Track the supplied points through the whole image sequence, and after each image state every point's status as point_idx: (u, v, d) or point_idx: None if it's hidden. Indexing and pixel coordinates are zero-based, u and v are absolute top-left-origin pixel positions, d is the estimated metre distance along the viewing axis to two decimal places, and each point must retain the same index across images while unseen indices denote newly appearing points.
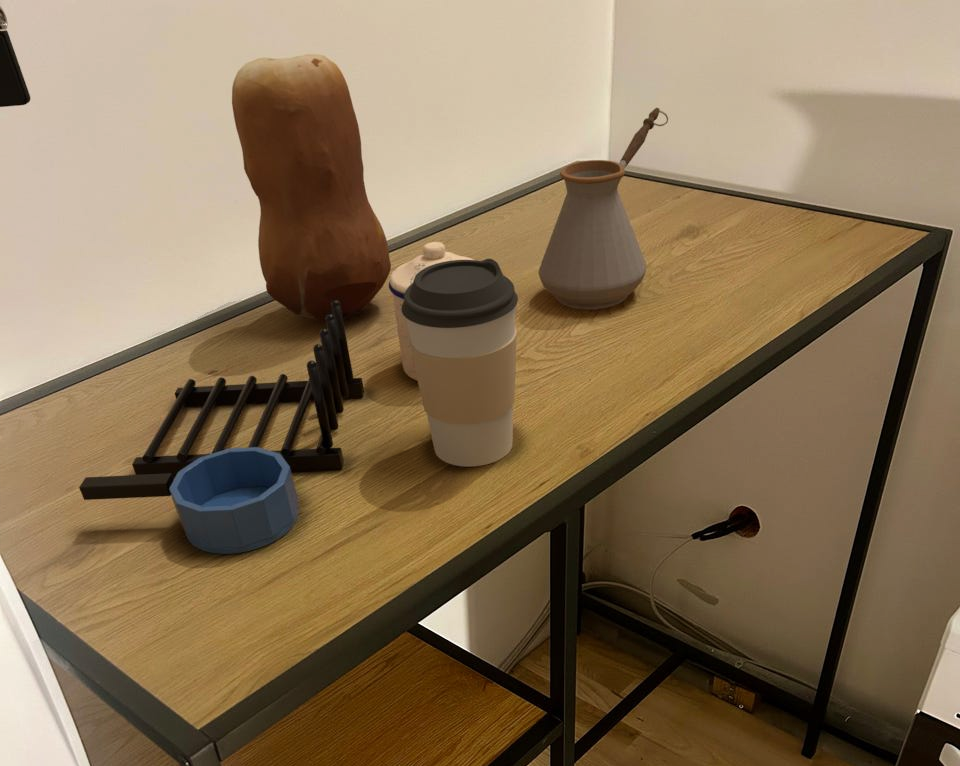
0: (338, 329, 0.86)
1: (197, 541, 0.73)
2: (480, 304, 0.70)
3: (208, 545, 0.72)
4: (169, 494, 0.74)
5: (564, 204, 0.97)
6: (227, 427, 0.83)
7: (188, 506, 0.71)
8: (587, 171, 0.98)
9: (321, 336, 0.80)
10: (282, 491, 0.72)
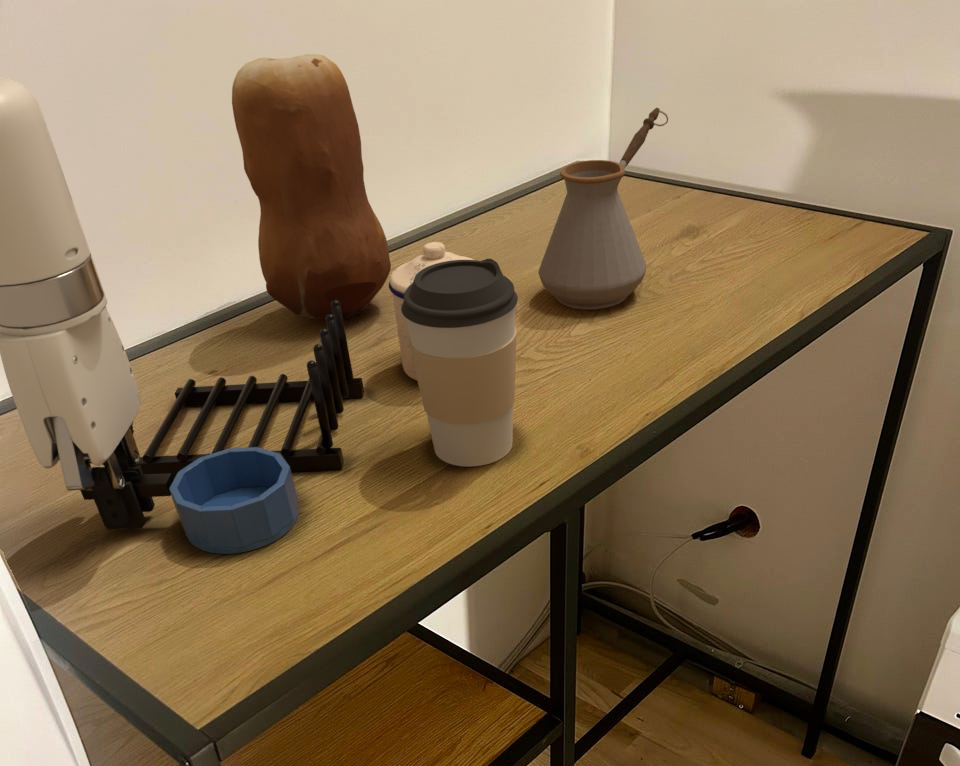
0: (338, 329, 0.86)
1: (197, 541, 0.73)
2: (480, 304, 0.70)
3: (208, 545, 0.72)
4: (169, 494, 0.74)
5: (564, 204, 0.97)
6: (227, 427, 0.83)
7: (188, 506, 0.71)
8: (587, 171, 0.98)
9: (321, 336, 0.80)
10: (282, 491, 0.72)
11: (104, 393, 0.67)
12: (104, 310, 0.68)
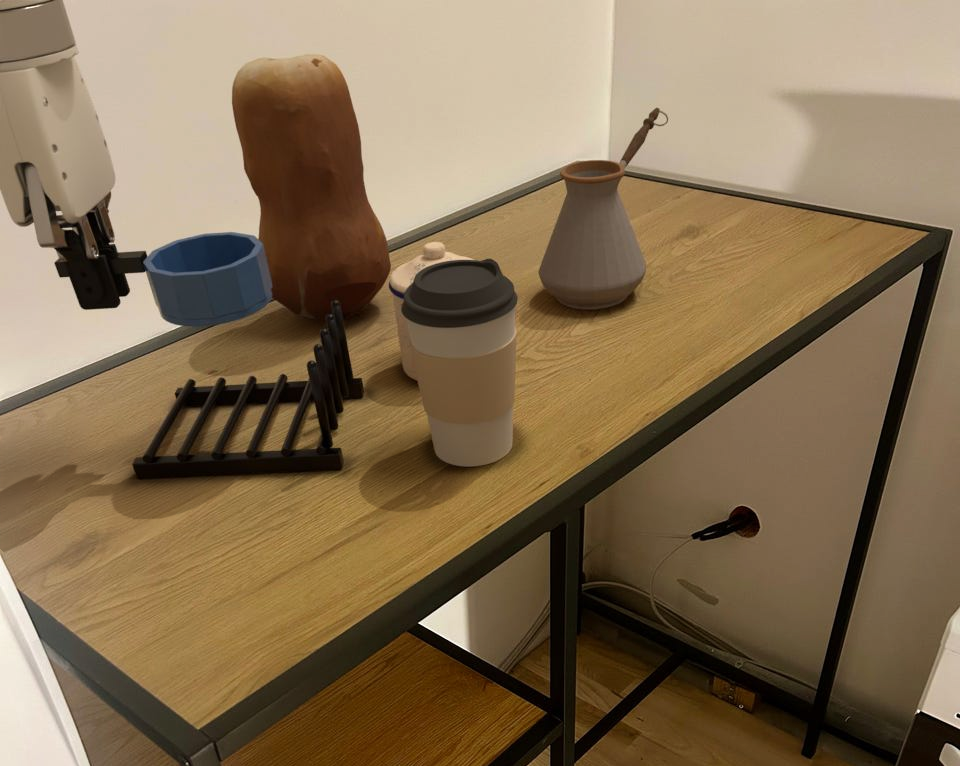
0: (338, 329, 0.86)
1: (170, 314, 0.73)
2: (480, 304, 0.70)
3: (181, 317, 0.73)
4: (143, 270, 0.74)
5: (564, 204, 0.97)
6: (227, 427, 0.83)
7: (160, 273, 0.71)
8: (587, 171, 0.98)
9: (321, 336, 0.80)
10: (255, 263, 0.73)
11: (76, 148, 0.68)
12: (77, 69, 0.69)
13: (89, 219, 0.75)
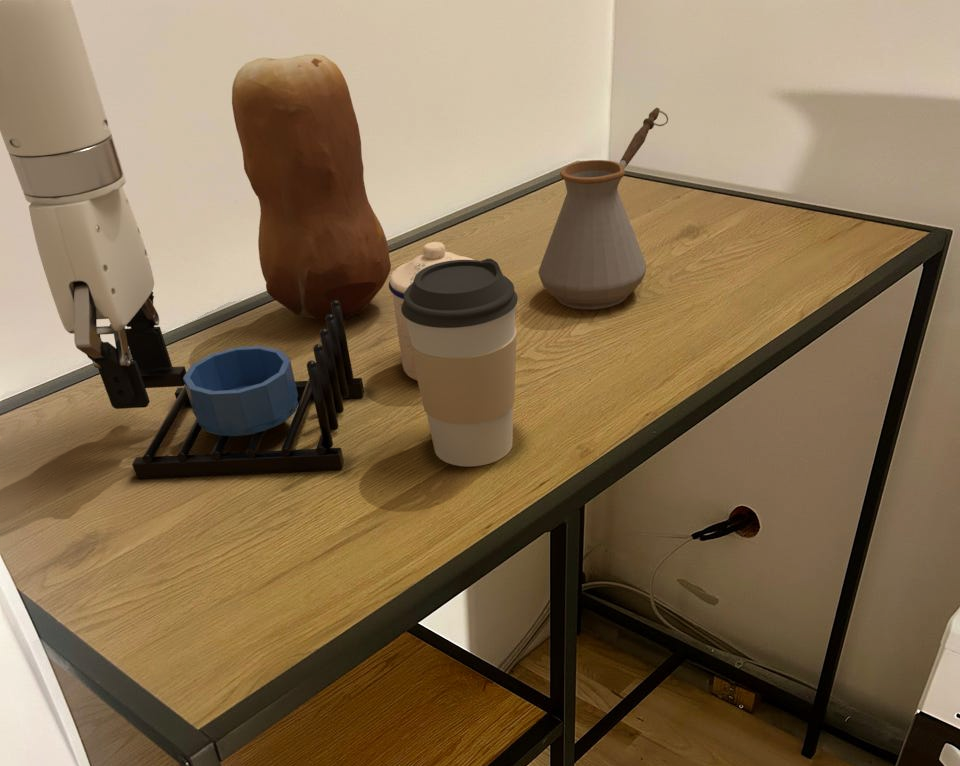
0: (338, 329, 0.86)
1: (208, 425, 0.82)
2: (480, 304, 0.70)
3: (217, 428, 0.81)
4: (183, 384, 0.83)
5: (564, 204, 0.97)
6: None
7: (200, 391, 0.80)
8: (587, 171, 0.98)
9: (321, 336, 0.80)
10: (283, 380, 0.81)
11: (122, 265, 0.75)
12: (122, 192, 0.76)
13: None
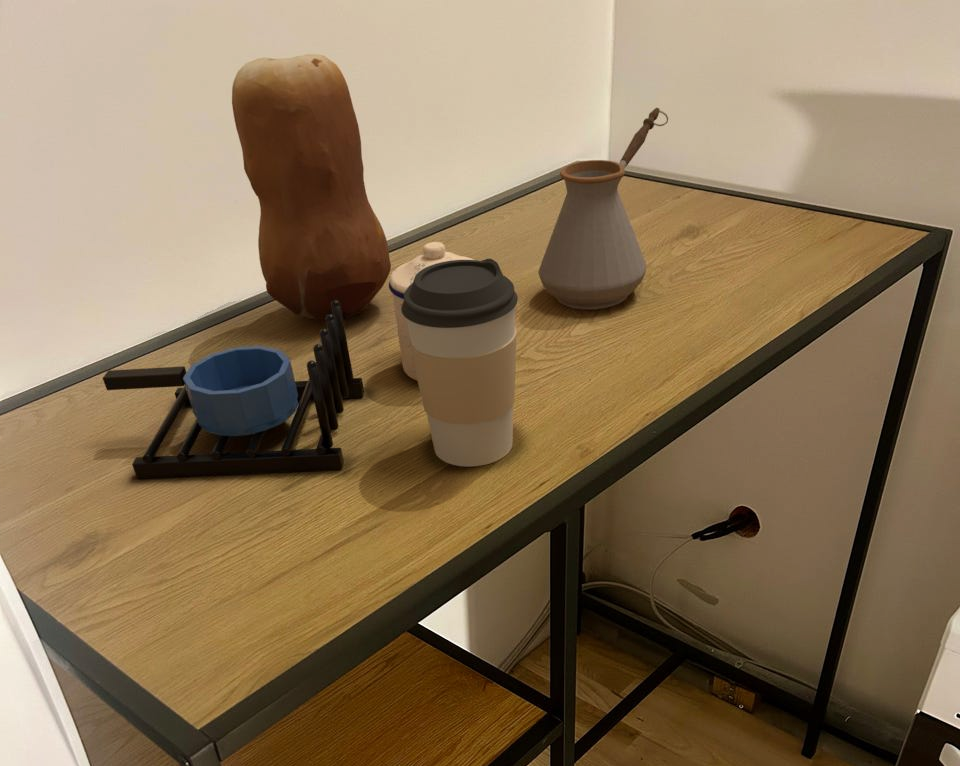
0: (338, 329, 0.86)
1: (208, 425, 0.82)
2: (480, 304, 0.70)
3: (217, 428, 0.81)
4: (183, 384, 0.83)
5: (564, 204, 0.97)
6: None
7: (200, 391, 0.80)
8: (587, 171, 0.98)
9: (321, 336, 0.80)
10: (283, 380, 0.81)
11: None
12: None
13: None
